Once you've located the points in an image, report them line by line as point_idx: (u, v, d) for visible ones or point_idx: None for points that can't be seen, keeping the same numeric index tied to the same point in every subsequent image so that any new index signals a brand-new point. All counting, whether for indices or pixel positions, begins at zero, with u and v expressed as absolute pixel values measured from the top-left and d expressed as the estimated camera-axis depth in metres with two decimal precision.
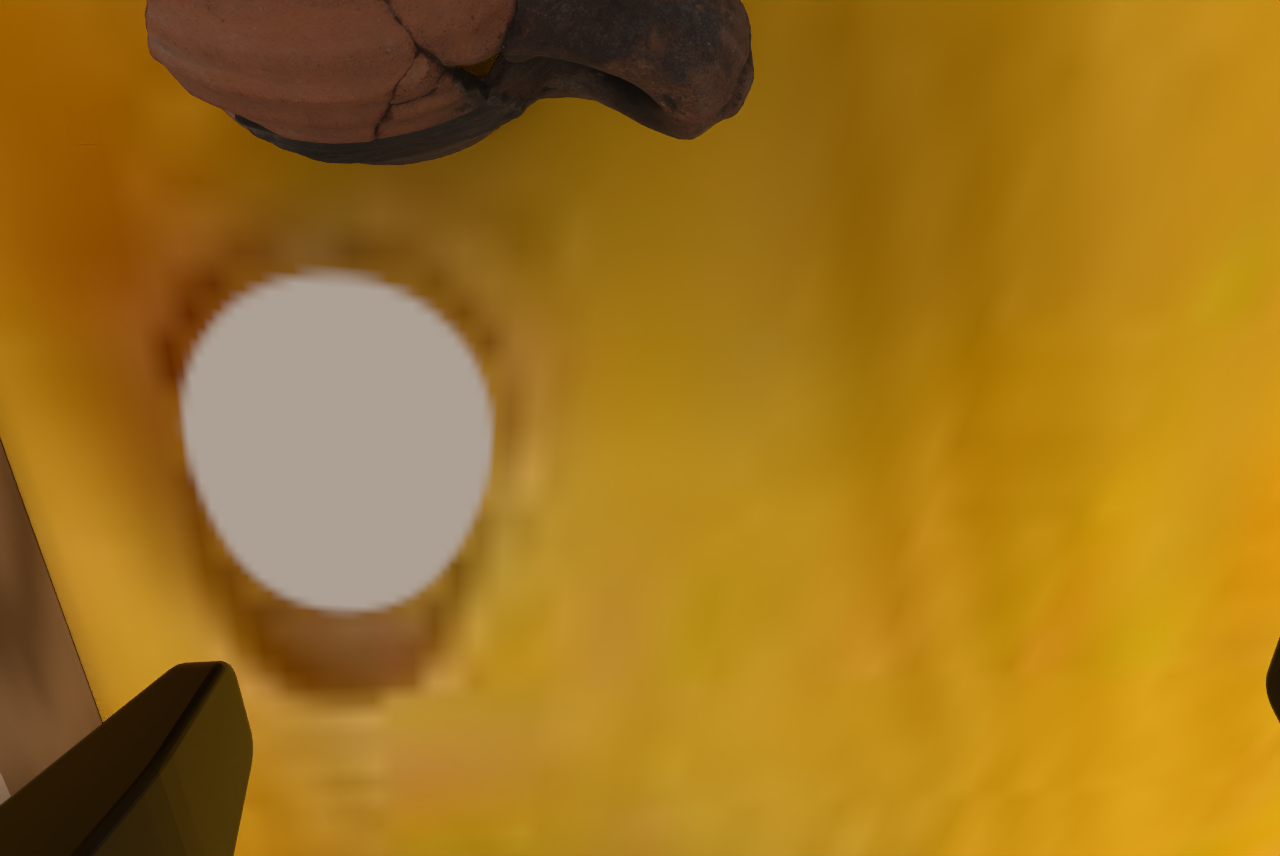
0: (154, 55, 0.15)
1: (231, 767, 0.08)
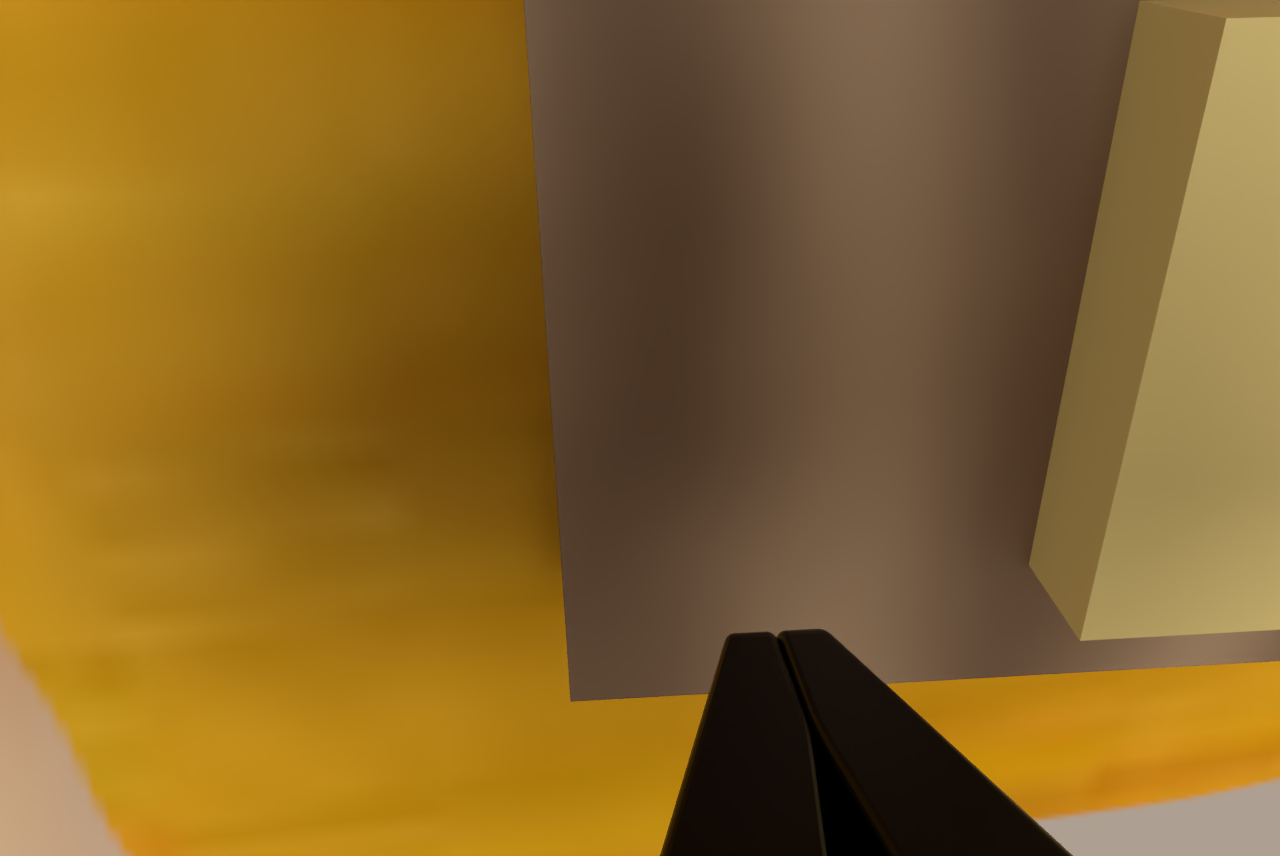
0: None
1: None
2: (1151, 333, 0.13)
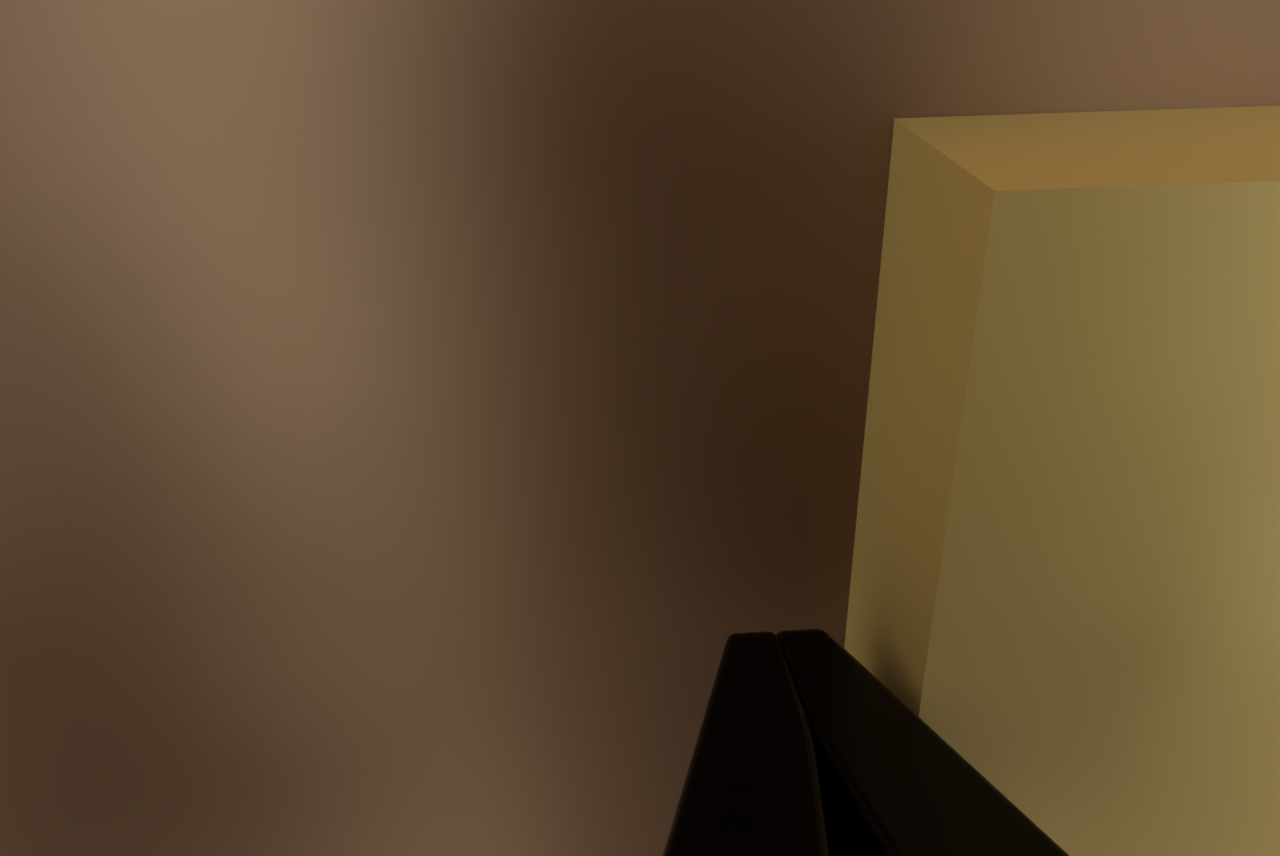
0: None
1: None
2: (919, 710, 0.08)
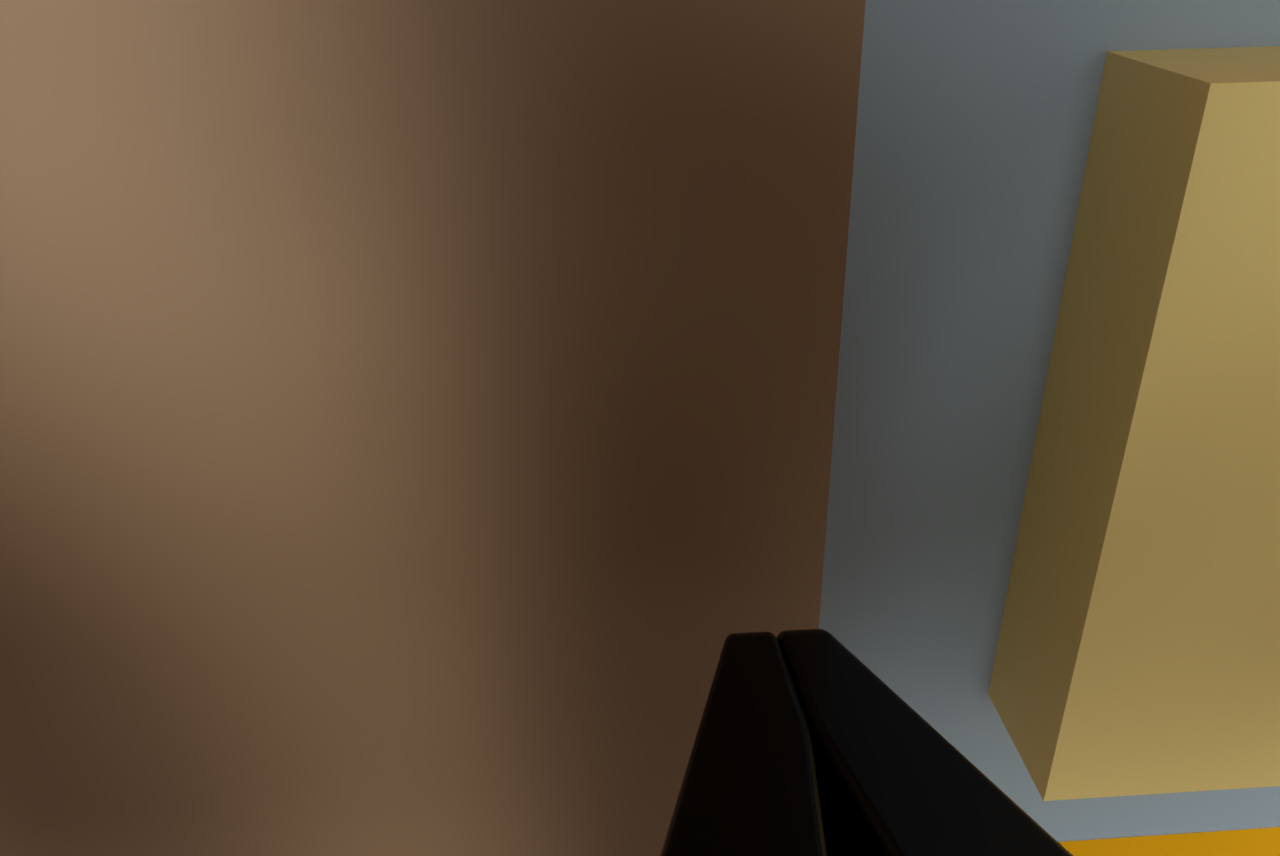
0: None
1: None
2: None
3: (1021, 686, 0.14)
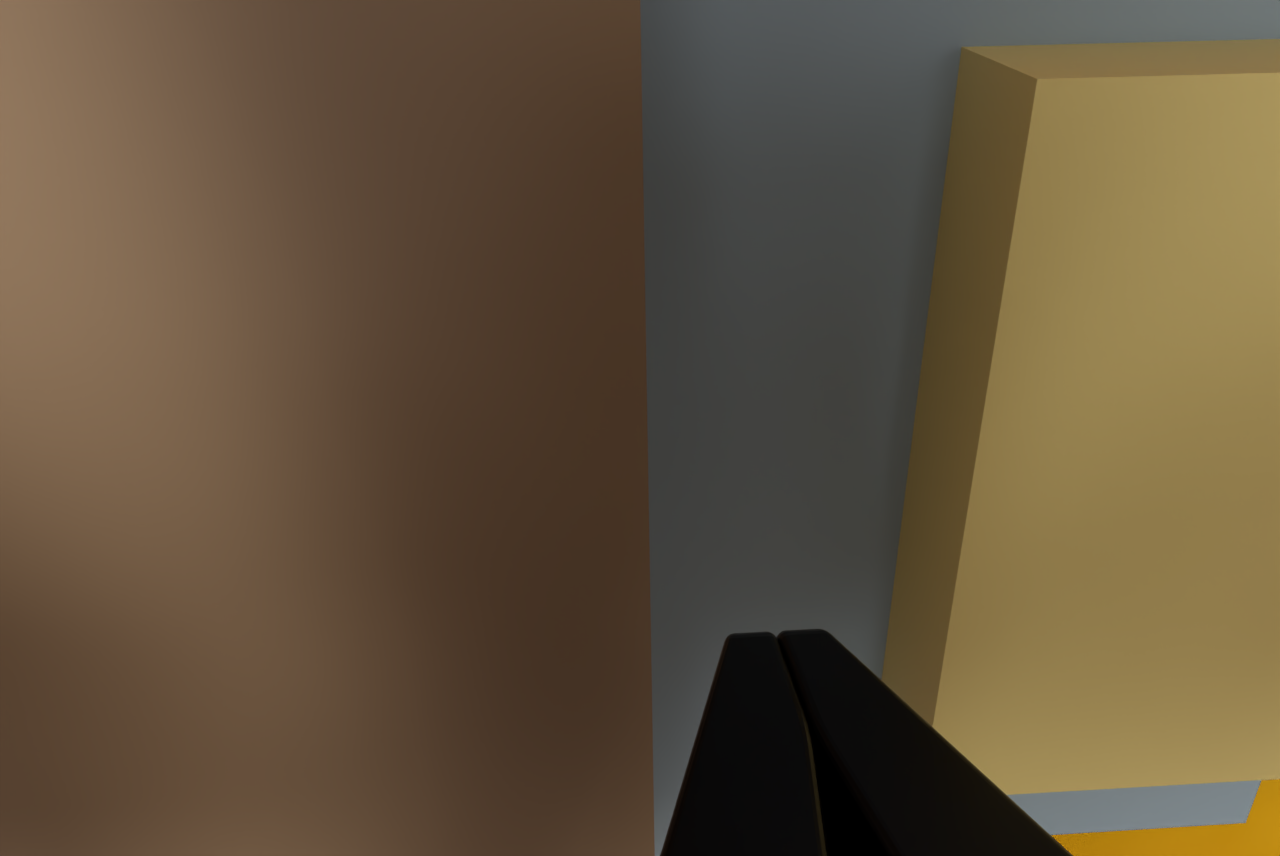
0: None
1: None
2: None
3: (904, 684, 0.14)
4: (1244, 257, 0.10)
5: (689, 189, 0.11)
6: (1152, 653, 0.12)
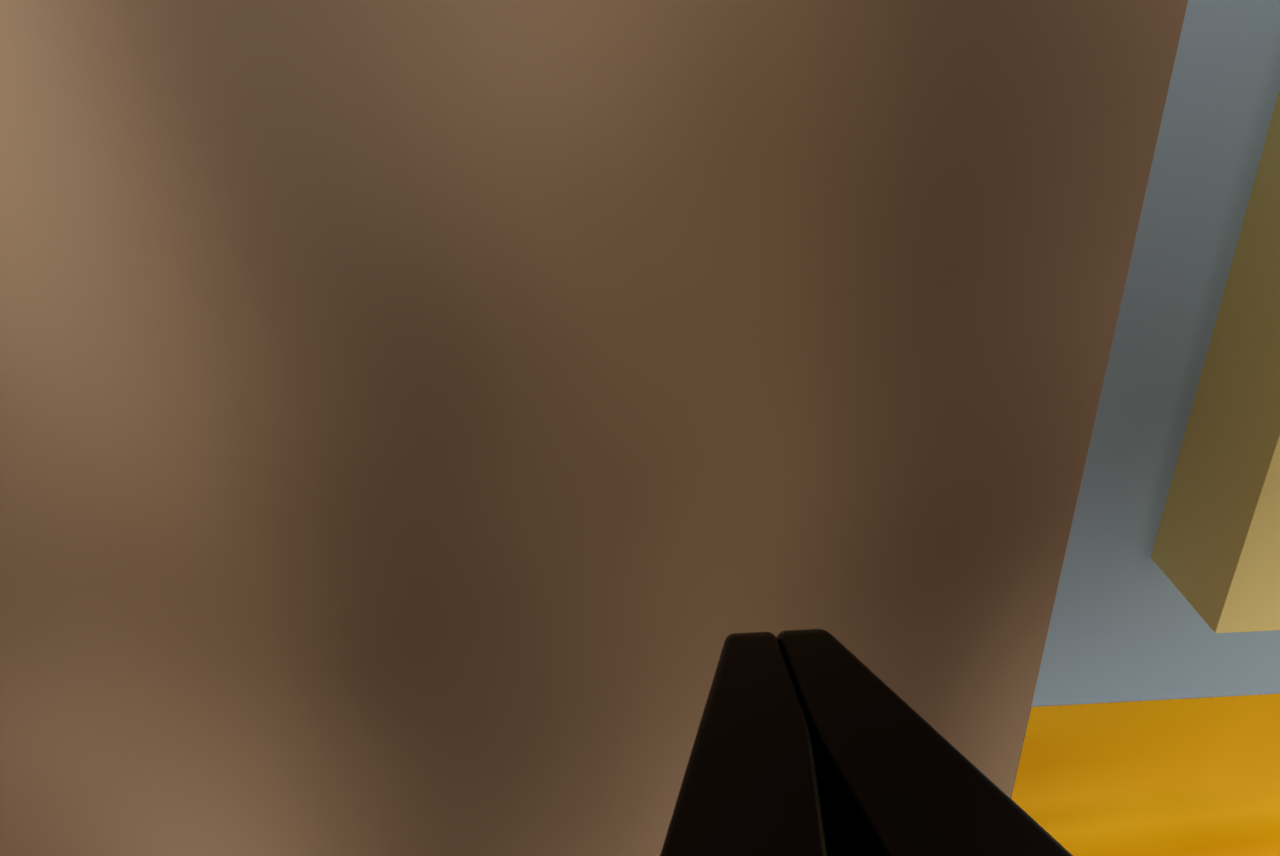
0: None
1: None
2: None
3: (1191, 541, 0.16)
4: None
5: None
6: None
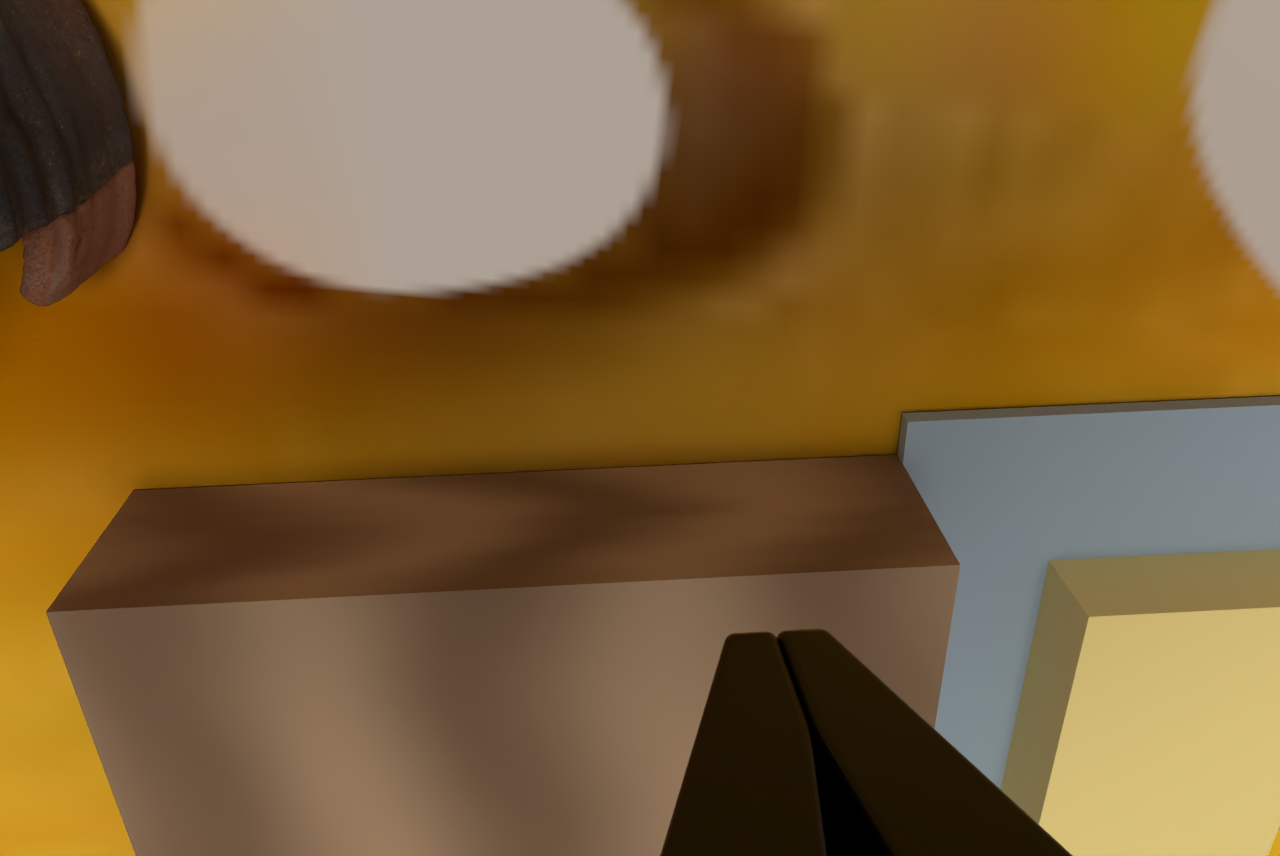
0: None
1: None
2: None
3: None
4: (1180, 674, 0.22)
5: None
6: (1140, 834, 0.24)
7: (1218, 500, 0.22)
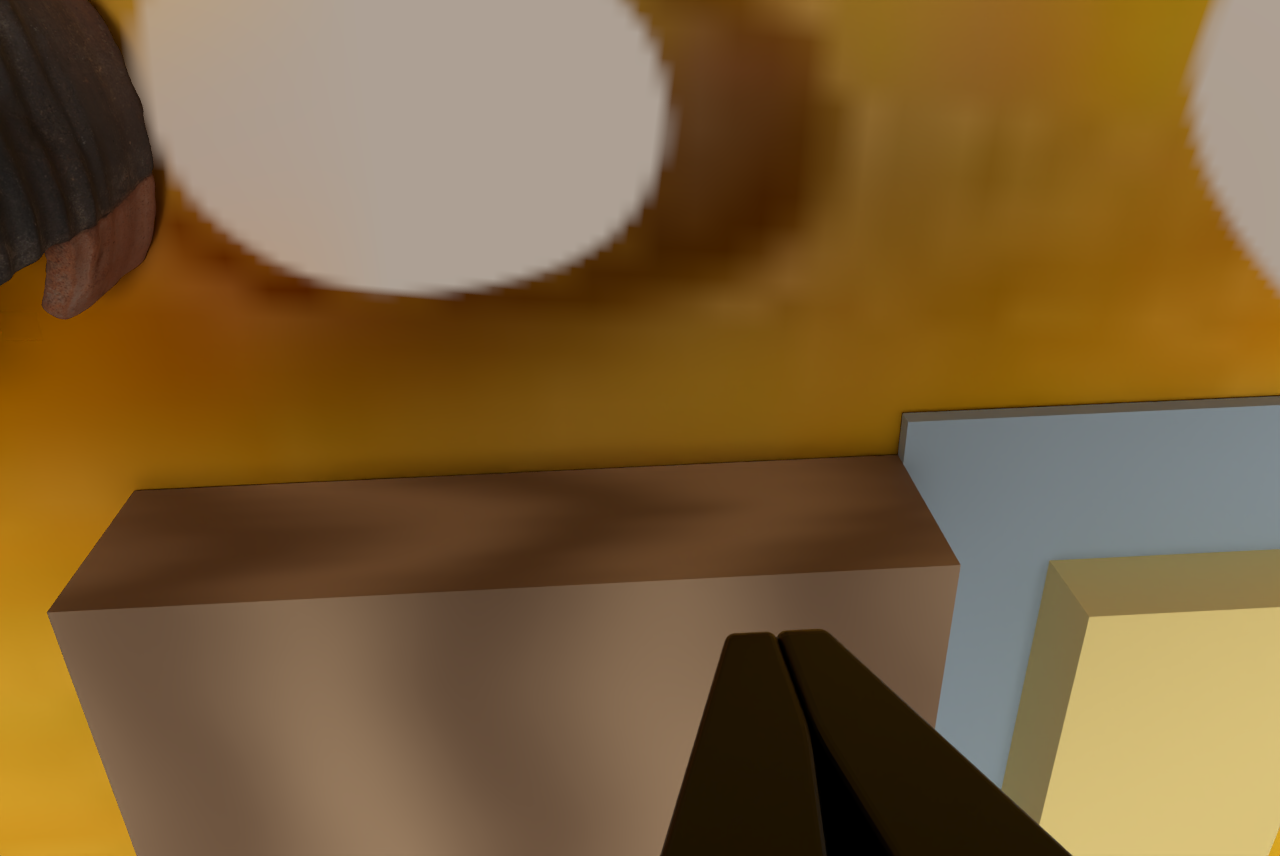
0: None
1: None
2: None
3: None
4: (1181, 675, 0.22)
5: None
6: (1140, 834, 0.24)
7: (1219, 500, 0.22)
